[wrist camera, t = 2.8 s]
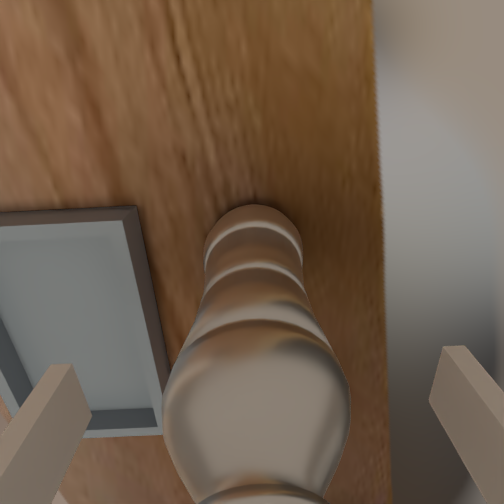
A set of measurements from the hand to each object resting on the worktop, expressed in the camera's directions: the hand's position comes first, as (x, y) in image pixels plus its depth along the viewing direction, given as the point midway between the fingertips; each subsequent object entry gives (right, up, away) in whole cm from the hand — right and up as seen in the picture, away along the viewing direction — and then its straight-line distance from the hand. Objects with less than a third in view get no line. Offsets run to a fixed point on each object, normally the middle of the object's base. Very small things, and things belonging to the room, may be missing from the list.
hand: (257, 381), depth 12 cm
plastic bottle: (0, +6, +13) cm, 14 cm away
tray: (-14, -1, +16) cm, 21 cm away
